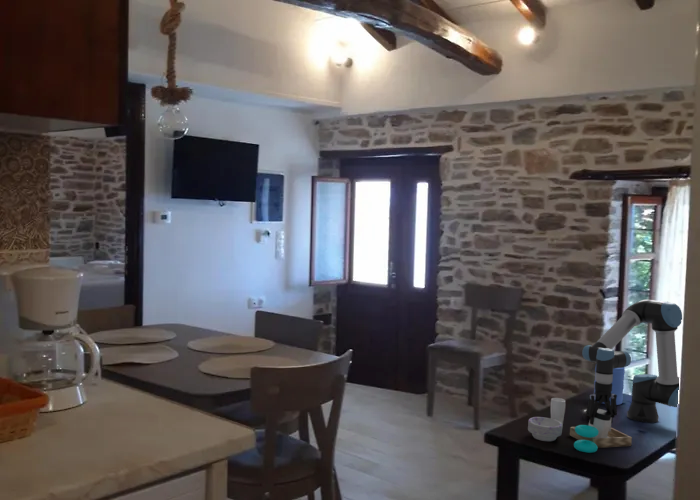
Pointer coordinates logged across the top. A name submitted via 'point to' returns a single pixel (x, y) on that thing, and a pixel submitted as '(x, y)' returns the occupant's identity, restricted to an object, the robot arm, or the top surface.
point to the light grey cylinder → (557, 409)
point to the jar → (602, 423)
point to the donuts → (586, 444)
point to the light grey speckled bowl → (544, 428)
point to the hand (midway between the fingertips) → (600, 430)
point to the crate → (606, 439)
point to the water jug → (616, 384)
